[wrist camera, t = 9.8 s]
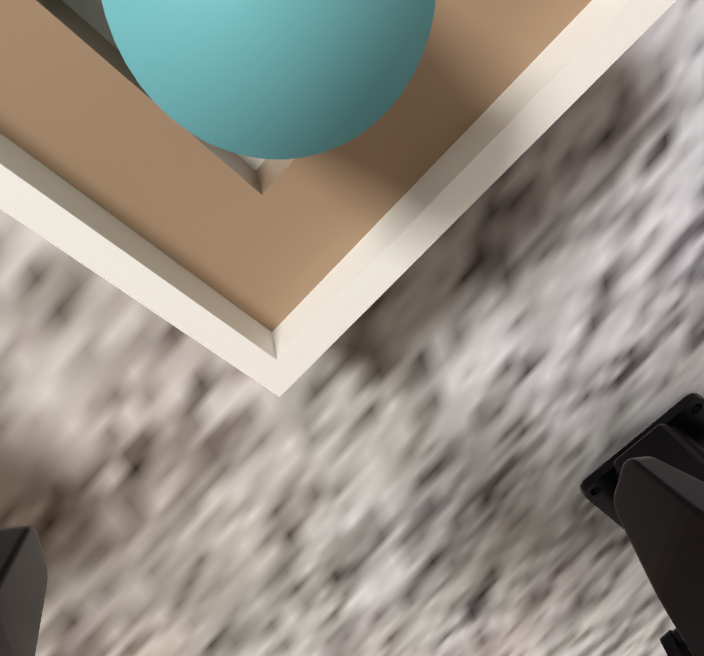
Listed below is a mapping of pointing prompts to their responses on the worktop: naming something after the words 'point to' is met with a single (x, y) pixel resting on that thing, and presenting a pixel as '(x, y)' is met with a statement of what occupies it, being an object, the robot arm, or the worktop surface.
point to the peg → (272, 66)
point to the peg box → (280, 170)
